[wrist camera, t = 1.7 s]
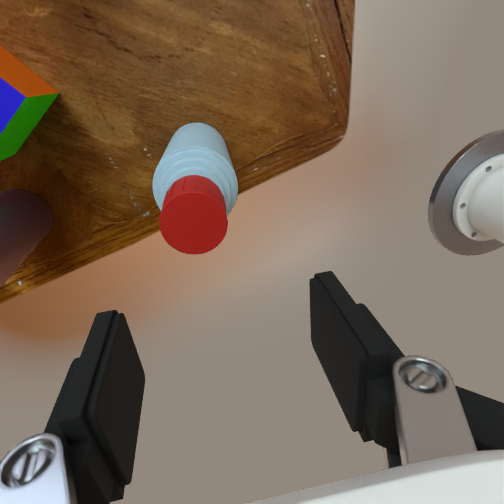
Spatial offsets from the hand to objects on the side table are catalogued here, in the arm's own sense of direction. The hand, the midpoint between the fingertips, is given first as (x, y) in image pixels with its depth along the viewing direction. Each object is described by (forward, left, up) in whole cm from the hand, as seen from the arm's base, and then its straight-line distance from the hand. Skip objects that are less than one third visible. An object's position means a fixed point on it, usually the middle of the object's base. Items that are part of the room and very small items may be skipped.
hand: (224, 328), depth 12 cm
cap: (+1, 0, -13) cm, 13 cm away
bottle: (0, 0, -30) cm, 30 cm away
